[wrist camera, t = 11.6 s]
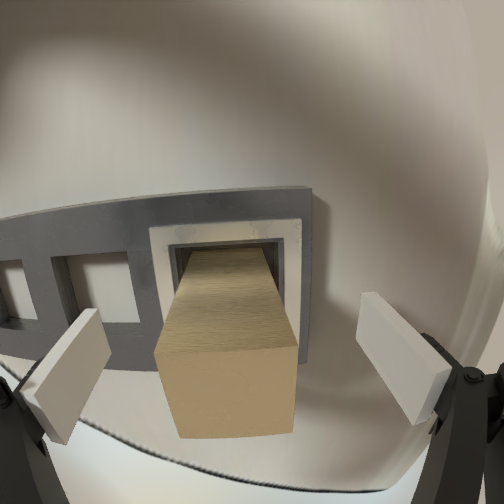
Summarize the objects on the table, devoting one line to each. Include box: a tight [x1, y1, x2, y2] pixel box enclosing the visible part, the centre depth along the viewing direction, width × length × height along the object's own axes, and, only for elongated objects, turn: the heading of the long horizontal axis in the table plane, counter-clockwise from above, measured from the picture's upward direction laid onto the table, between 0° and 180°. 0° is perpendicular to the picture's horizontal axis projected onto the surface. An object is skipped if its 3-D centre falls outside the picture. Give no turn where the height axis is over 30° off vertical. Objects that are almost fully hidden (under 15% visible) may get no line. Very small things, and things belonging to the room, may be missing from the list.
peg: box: [154, 247, 298, 439], centre depth 14 cm, size 4×4×11 cm
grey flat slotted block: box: [0, 186, 312, 371], centre depth 18 cm, size 28×12×2 cm, turn 92°
